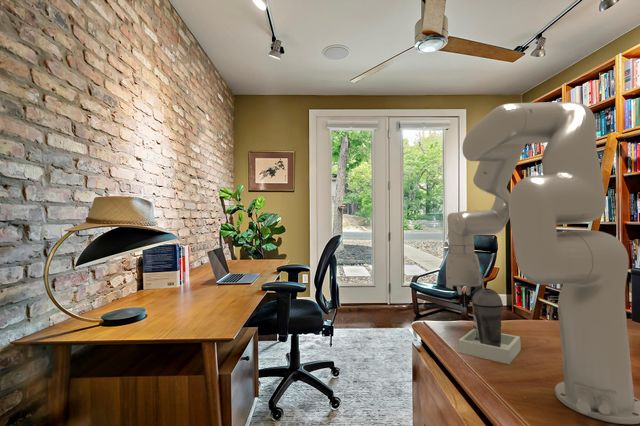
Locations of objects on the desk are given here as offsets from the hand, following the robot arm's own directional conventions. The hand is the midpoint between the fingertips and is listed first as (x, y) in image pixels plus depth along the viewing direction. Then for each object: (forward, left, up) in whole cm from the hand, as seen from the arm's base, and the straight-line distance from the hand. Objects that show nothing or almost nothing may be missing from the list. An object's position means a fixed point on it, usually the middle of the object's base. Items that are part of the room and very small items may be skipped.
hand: (464, 306), depth 101 cm
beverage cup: (-15, -11, -6) cm, 20 cm away
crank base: (-7, -7, -7) cm, 12 cm away
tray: (-15, -11, -7) cm, 20 cm away
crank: (-3, -6, -4) cm, 7 cm away
